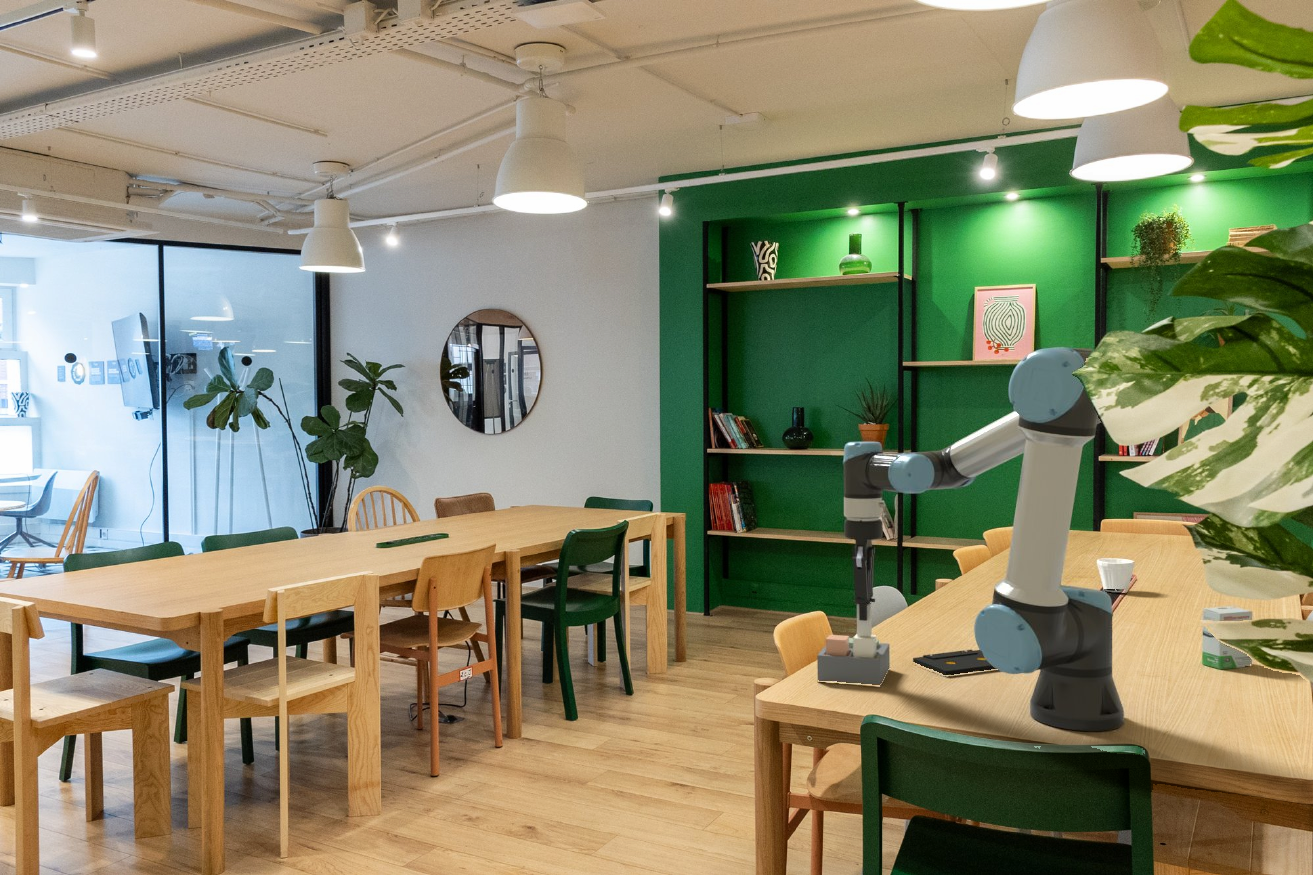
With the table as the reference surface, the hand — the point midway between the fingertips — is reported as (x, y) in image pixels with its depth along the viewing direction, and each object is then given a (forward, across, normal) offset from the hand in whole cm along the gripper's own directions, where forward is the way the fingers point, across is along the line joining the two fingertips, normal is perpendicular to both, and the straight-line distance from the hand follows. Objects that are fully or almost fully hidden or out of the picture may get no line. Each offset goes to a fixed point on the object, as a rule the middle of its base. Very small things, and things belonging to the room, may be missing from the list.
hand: (864, 635), depth 197 cm
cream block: (+6, 0, 0) cm, 6 cm away
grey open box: (+9, +3, +3) cm, 10 cm away
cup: (+10, +116, -55) cm, 129 cm away
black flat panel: (+10, +18, -18) cm, 28 cm away
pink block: (+7, 0, +5) cm, 9 cm away
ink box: (+9, +34, -70) cm, 78 cm away
